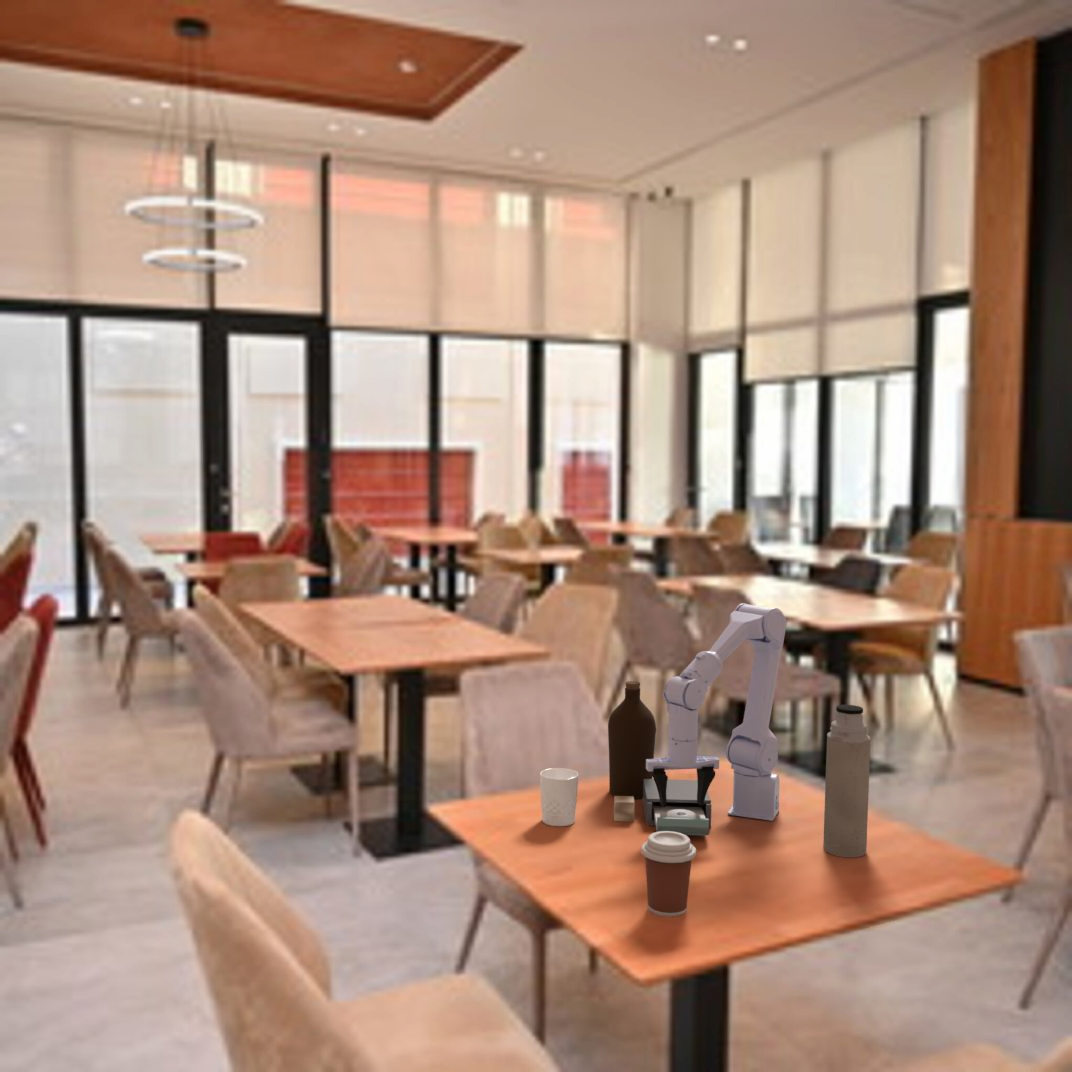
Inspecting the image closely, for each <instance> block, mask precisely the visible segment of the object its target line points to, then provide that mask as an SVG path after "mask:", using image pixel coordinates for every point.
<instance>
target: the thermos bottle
mask: <svg viewBox="0 0 1072 1072" xmlns="http://www.w3.org/2000/svg"><path fill="white" fill-rule="evenodd" d="M863 713H864V708H863V707H861V706H859V705H853V704H840V705H839V704H838V705H837V706H836V715H835V718H836V719H835V720H833V721H832V722H831V723H830V725H831V726H830V728H829V729H830V731H829V732H827V734H826V757H825V759H826V761H825V784H824V785H825V786H824V787H825V791H824V817H823V819H824V820H823V842H822V843H823V844H822V845H823V846H822V847H823V850H824V851H825V852H826V853H828V854H831V855H832V856H837V857H843V858H860V857H863V856H865V855H866V853H867V848H868V847H867V845H868V843H867V842H868V821H869V819H868V818H869V817H868V816H869V815H868V814H869V813H868V812H869V792H870V791H869V789H870V766H871V765H870V763H871V762H870V761H871V760H870V759H871V740H872V739H871V736H869V735H868V731H869V729H868V725H867V723H865V722H863V721H864V720H863V718H864V715H863Z"/></svg>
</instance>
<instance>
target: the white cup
mask: <svg viewBox="0 0 1072 1072" xmlns="http://www.w3.org/2000/svg"><path fill="white" fill-rule="evenodd" d="M539 782H540V785H539V786H540V789H539V790H540V804H541V805H540V808H541V816H542V817H541V819H542V822H543V824H545V825H548V826H552V827H568V826H571V825H572V824H574V823H575V821H576V809H577V803H578V787H579V772H578V771H576V770H575V769H570V768H563V767H553V768H546V769H543V770H541V771H540V772H539Z"/></svg>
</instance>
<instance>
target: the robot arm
mask: <svg viewBox="0 0 1072 1072" xmlns="http://www.w3.org/2000/svg"><path fill="white" fill-rule="evenodd" d="M787 624H788V620H787V619H786V617H785V615H784V612H783V611H782V610H781V609H780V608H778V607H767V606H760V605H756V604H755V605H753V604H748V603H744V602H742V603H738V605H737V606H736V607H735V609H734V610H733V611H732V612H731V613H730V614H729V623H728V625H727V626H726V628H724V630H723V631H722V633H721V634H720V636H719V637H718V639H717V640H716V641H715V642H714V644H713V645H712V646H711V648H710V649H709V650H702V651H699V652H698V653H696V655H695V658H694V659H693V660H692V661H691V662H690V663H689V664H688V666H687V667H686V668H685V669H684V670H683V671H682V672H681V673H680V674H679V676H678V675H677V676H676V675H675V676H672V677H671V678H670V679H669V680H668V681H666V684H665V685H664V690H663V691H662V697H663V700H664V701H665V704H666V711H667V712H668V742H667V743H668V746H667V747H668V748H667V749H668V750H667V753H668V754H667V756H664V757H663V756H662V757H657V758H655V757H654V759H646V769H647V770H648V771H650V772H651V774H652V779H654V781H655V783H656V786H657V790H658V793H659V798H660V804H661V806H662V807H666V803H667V801H666V788H667V780H668V779H669V776H668V775H667V773H666V771H667V770H668V771H672V770H693V769H694V770H695V769H696V777H697V779H696V780H698V788H697V802H698V804H699V805H704V800H705V796H706V793H707V791H708V789H709V788H710V787H711V786H710V785H711V784H712V782H713V780H714V779H715V776H716V771H715V770H719V769H720V758H718V757H717V756H703V755H702V756H699V755H698V743H699V742H698V740H699V739H698V735H699V732H698V731H699V729H698V727H699V708H700V706H703V703H704V702H705V699H706V695H707V692H708V690H709V687H710V686H711V684H712V683H713V682H714V681H715V680H716V679H717V678H718V676H719V675H720V674H721V673H722V672H723V669H724V668H723V667H724V664H723V662H724V661H725V660H727V658H728V657H729V656H730V655H731V654H733V652H735V650H736V649H738V647H739V646H741V645H742V644H743V643H744V642H745V641H746V640H747V642H749V643H750V644H751V646H752V647H753V649H754V656H753V663H752V666H751V667H752V668H751V674H750V678H749V679H750V680H749V685H748V689H747V690H748V693H747V697H746V703H745V710H744V714H743V720H742V723H741V724H739V725H738V726H736V727H735V728H733V729H732V732H731V737H730V738H729V741H728V742H727V745H726V749H725V756H726V759H727V762H728V763H729V764H730V765H731V767H730V769H732V770H733V784H732V785H733V788H732V789H733V790H732V791H733V792H732V795H733V796H732V797H733V798H732V806H731V807H730V808H729V810H728V811H727V815H729V816H734V817H735V816H736V817H742V818H750V819H755V820H756V819H757V820H763V821H771V822H772V821H774V819H775V818H776V816H777V815H778V813H779V811H780V807H779V806H780V803H779V802H780V775H779V774H778V773H777V774H775V773H772V772H773V771H774V769H775V767H777V764H778V760H779V759H778V758H779V755H778V738H777V737H776V735H775V734H774V733H773V732H772V731H771V729H770V726H769V725H770V721H771V714H772V710H773V703H774V698H775V691H776V685H777V679H778V673H779V669H780V662H781V657H782V651H783V647H784V641H785V634H786V629H787Z"/></svg>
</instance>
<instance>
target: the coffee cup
mask: <svg viewBox="0 0 1072 1072" xmlns="http://www.w3.org/2000/svg"><path fill="white" fill-rule="evenodd" d="M640 852H641V854H642V855H643V857H644V860H645V876H646V877H645V878H646V891H647V895H646V896H647V910H648V911H649V912H650V913H652V914H654V915H657V916H660V917H668V918H670V917H671V918H672V917H673V918H674V917H679V916H683V915H684V914H686V913H687V908H688V907H687V905H688V899H689V898H688V895H689V888H690V887H689V886H690V878H691V870H692V869H691V868H692V860H693V859H695V858H696V856H697V848H696V847H695V846H694V845H693V844H692V842H691V839H690V837H689V836H688V835H684V834H682V833H678V832H672V831H659V832H657V831H656V832H652V833H650V834H649V835H648V836H647V840H646V841H645V842H643V843H642V844H641V848H640Z"/></svg>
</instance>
